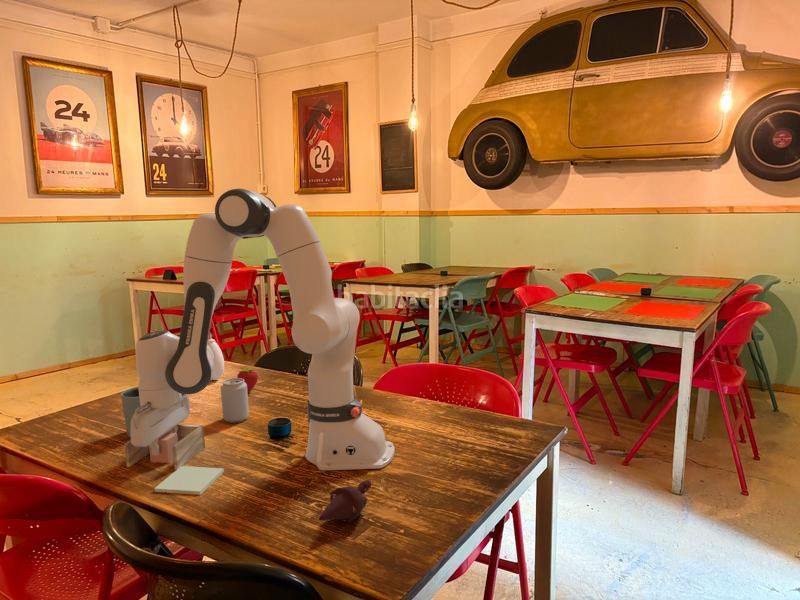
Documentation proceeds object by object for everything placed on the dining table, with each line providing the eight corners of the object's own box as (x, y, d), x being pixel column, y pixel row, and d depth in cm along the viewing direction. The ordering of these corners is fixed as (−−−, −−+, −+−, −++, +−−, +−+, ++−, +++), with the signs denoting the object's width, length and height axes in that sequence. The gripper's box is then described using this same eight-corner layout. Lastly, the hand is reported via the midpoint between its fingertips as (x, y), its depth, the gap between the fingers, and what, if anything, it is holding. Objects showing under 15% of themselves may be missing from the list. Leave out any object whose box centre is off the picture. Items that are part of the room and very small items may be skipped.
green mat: (224, 471, 133) (223, 468, 133) (200, 494, 122) (200, 491, 122) (181, 469, 135) (181, 466, 135) (154, 491, 124) (154, 488, 124)
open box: (205, 447, 147) (203, 425, 146) (177, 469, 135) (175, 446, 134) (157, 444, 149) (155, 423, 149) (126, 466, 137) (124, 443, 136)
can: (252, 414, 170) (250, 376, 168) (243, 424, 163) (240, 384, 161) (229, 414, 171) (226, 376, 169) (219, 423, 164) (215, 384, 162)
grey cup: (121, 431, 159) (116, 391, 158) (157, 422, 166) (153, 383, 164) (130, 442, 152) (126, 399, 150) (169, 432, 158) (165, 391, 156)
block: (179, 455, 143) (177, 433, 142) (169, 463, 138) (166, 440, 137) (161, 454, 144) (159, 432, 143) (150, 462, 139) (148, 439, 138)
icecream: (338, 513, 102) (385, 485, 114) (309, 492, 106) (358, 468, 118) (330, 545, 104) (378, 514, 116) (302, 524, 107) (351, 496, 120)
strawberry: (250, 396, 187) (248, 367, 185) (234, 393, 190) (232, 365, 189) (263, 391, 192) (261, 363, 191) (246, 388, 196) (244, 360, 194)
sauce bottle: (220, 375, 212) (216, 329, 209) (228, 380, 206) (225, 332, 203) (199, 380, 207) (195, 332, 204) (207, 384, 201) (203, 336, 198)
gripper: (145, 411, 128) (151, 468, 130) (192, 383, 148) (196, 433, 150) (120, 410, 129) (126, 466, 131) (170, 383, 149) (175, 432, 151)
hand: (164, 448), depth 141 cm, fingers open, 5 cm apart
